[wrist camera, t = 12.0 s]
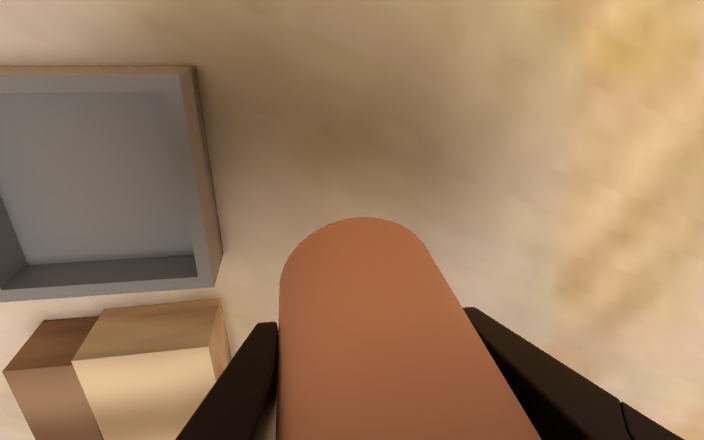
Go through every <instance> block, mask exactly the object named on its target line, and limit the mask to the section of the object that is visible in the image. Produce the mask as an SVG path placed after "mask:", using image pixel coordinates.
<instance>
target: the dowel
mask: <svg viewBox="0 0 704 440" xmlns="http://www.w3.org/2000/svg"><path fill="white" fill-rule="evenodd" d="M276 440H542V439H541V438H540V436H539V434H538V433H537V431H536V429H535V428H534V426H533V424H532V423H531V421H530V419H529V418H528V416H527V414H526V413H525V411H524V409H523V408H522V406H521V404H520V403H519V401H518V399H517V398H516V396H515V395H514V393H513V391H512V390H511V388H510V386H509V385H508V383H507V381H506V380H505V378H504V376H503V375H502V373H501V371H500V370H499V368H498V366H497V365H496V363H495V361H494V360H493V358H492V356H491V355H490V353H489V351H488V350H487V348H486V346H485V345H484V343H483V341H482V340H481V338H480V336H479V335H478V333H477V331H476V330H475V328H474V326H473V325H472V323H471V321H470V320H469V318H468V316H467V315H466V313H465V311H464V310H463V308H462V307H461V305H460V303H459V302H458V300H457V298H456V297H455V295H454V293H453V292H452V290H451V288H450V287H449V285H448V283H447V282H446V280H445V278H444V277H443V275H442V273H441V272H440V270H439V268H438V267H437V265H436V263H435V262H434V260H433V258H432V257H431V255H430V253H429V252H428V250H427V249H426V247H425V245H424V244H423V243H422V241H421V240H420V239H419V238H418V237H417V236H416V235H415V234H413V233H412V232H411V231H410V230H408V229H406V228H405V227H403V226H401V225H399V224H396V223H394V222H391V221H388V220H384V219H378V218H368V217H360V218H350V219H345V220H341V221H337V222H335V223H332V224H329V225H327V226H325V227H323V228H320V229H318V230H317V231H315V232H314V233H312V234H311V235H309V236H308V237H307V238H306V239H304V240H303V241H302V242H301V243H300V244H299V245H298V246H297V247H296V248H295V249H294V251H293V252H292V254H291V255H290V256H289V258H288V260H287V262H286V264H285V266H284V268H283V271H282V274H281V279H280V290H279V328H278V365H277V403H276Z"/></svg>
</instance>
